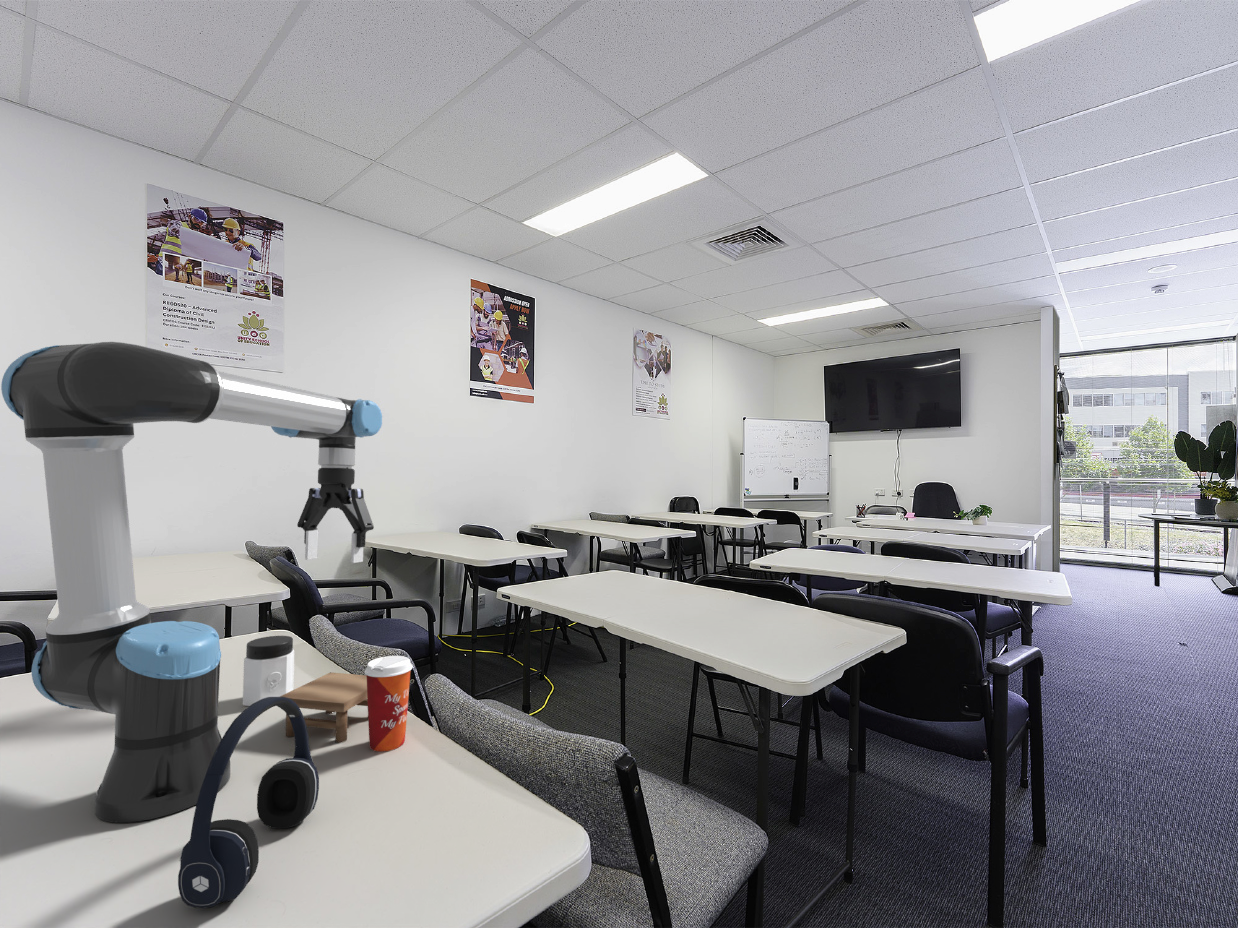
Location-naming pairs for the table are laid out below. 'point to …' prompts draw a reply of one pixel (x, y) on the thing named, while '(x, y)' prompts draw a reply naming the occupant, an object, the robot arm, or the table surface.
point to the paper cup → (387, 701)
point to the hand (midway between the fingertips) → (333, 560)
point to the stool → (330, 700)
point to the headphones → (230, 847)
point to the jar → (268, 668)
